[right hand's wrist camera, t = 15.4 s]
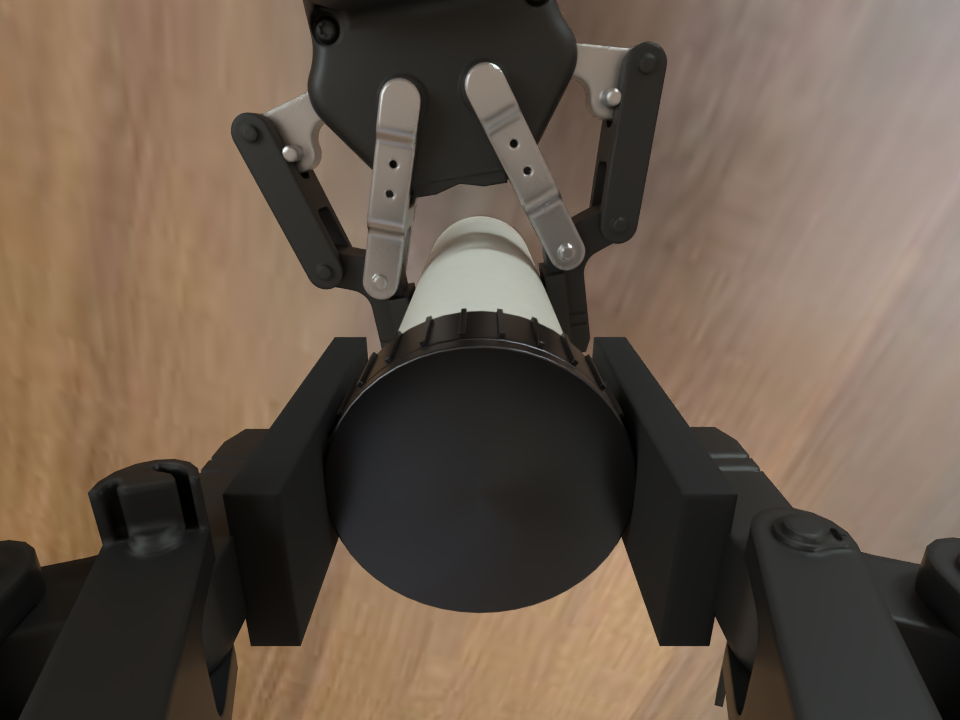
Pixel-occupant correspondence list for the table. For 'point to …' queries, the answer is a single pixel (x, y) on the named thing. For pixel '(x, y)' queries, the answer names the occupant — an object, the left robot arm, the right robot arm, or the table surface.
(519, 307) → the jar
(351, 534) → the lid
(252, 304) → the table surface
